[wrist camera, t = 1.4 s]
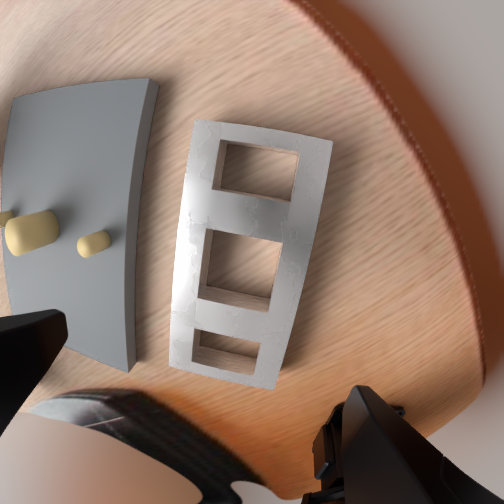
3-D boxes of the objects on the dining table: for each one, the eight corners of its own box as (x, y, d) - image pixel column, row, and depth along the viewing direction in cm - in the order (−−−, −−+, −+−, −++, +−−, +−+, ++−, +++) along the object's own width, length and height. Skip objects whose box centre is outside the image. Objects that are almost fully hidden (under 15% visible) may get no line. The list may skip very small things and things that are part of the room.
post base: (159, 84, 15) (118, 58, 10) (136, 362, 20) (106, 401, 15) (25, 100, 16) (-17, 94, 11) (22, 312, 21) (-11, 333, 16)
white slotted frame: (205, 125, 15) (194, 119, 13) (327, 145, 15) (333, 141, 13) (178, 350, 19) (169, 365, 17) (275, 371, 19) (273, 390, 17)
